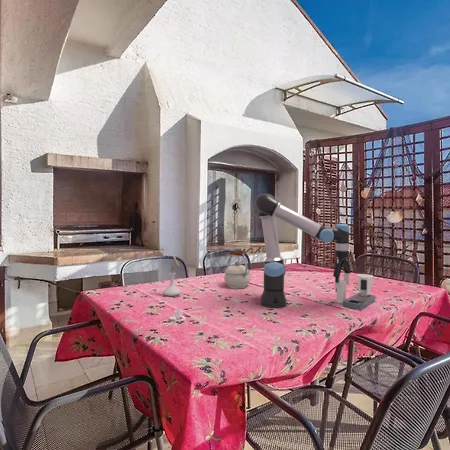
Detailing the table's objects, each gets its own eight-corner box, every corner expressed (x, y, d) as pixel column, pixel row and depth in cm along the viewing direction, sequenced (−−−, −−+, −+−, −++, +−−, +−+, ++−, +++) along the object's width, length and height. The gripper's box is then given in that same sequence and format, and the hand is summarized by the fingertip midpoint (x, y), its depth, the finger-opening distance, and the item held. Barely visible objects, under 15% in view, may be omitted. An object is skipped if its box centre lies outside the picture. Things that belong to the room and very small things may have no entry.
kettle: (256, 287, 235) (257, 252, 233) (235, 291, 224) (235, 254, 223) (235, 281, 255) (236, 248, 254) (215, 284, 245) (215, 250, 244)
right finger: (345, 302, 199) (346, 280, 199) (343, 303, 196) (343, 281, 196) (337, 300, 202) (338, 279, 202) (335, 302, 199) (335, 280, 199)
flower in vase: (177, 297, 207) (177, 257, 206) (160, 296, 209) (159, 256, 208) (184, 292, 220) (184, 254, 219) (167, 291, 222) (167, 254, 221)
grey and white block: (342, 306, 190) (343, 282, 190) (358, 297, 210) (359, 275, 209) (360, 310, 184) (361, 285, 183) (375, 300, 204) (375, 277, 203)
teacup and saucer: (170, 322, 163) (170, 314, 163) (166, 317, 170) (166, 309, 170) (187, 320, 167) (187, 312, 166) (183, 315, 174) (183, 307, 174)
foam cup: (360, 292, 222) (361, 273, 221) (374, 295, 216) (375, 275, 215) (354, 295, 215) (354, 275, 215) (368, 298, 209) (369, 277, 208)
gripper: (340, 253, 186) (340, 291, 187) (356, 248, 205) (356, 283, 205) (327, 252, 190) (327, 289, 191) (344, 247, 209) (343, 281, 210)
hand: (342, 286), depth 198 cm, fingers open, 13 cm apart
